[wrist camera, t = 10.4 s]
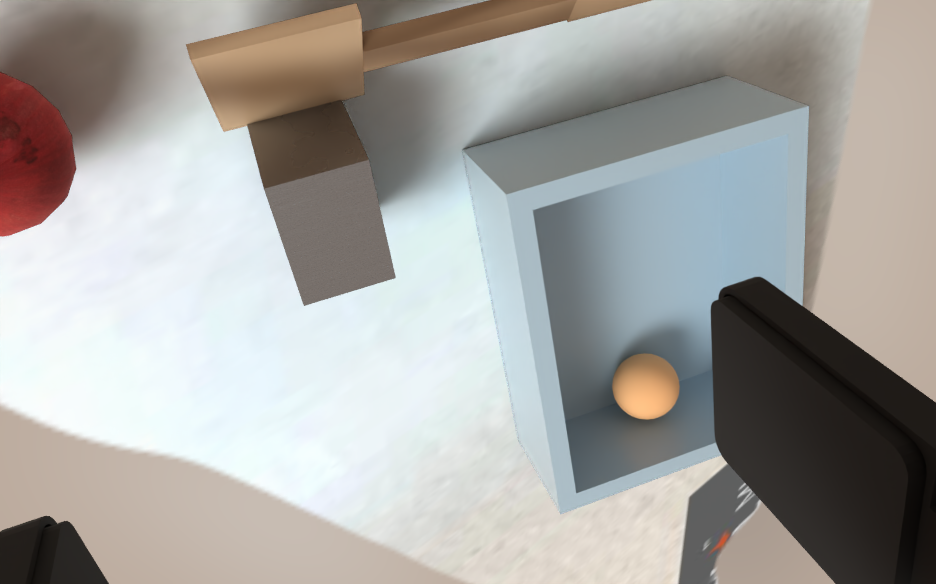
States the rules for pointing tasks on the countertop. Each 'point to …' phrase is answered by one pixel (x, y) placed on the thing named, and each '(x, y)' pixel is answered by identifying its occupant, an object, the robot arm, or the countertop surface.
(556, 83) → the countertop surface
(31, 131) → the onion
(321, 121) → the iron block
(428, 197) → the countertop surface
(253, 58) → the lever
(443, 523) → the countertop surface
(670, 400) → the ball
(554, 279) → the dish
